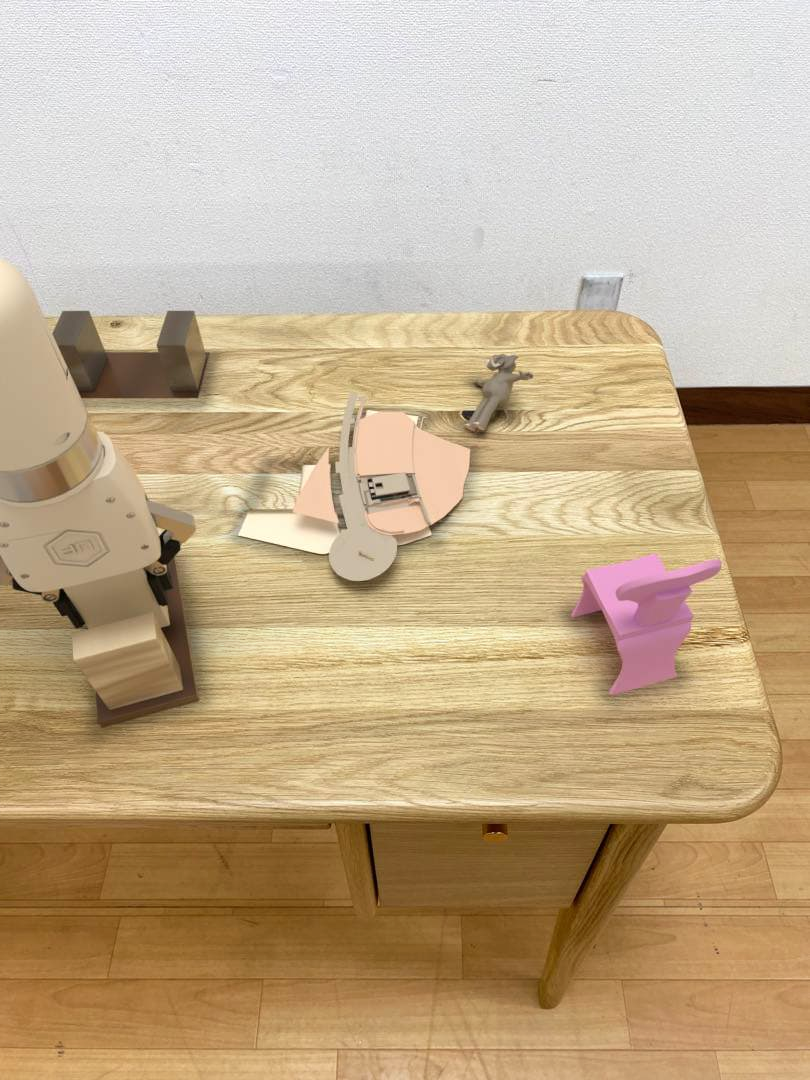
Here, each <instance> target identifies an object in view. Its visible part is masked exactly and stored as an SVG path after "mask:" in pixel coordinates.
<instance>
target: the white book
mask: <svg viewBox="0 0 810 1080" xmlns="http://www.w3.org/2000/svg"><path fill="white" fill-rule="evenodd" d="M63 589H64V591H65V593H66V594H67V596H68V597H69V599H70V600H71V602H72V603H73V605H74V606H75V608H76V609H77V611H78V613H79V614H80V616H81V617H82V619H83V620H84V622H85V625H86V627H87V629H90V628H94V627H98V626H102V625H106V624H110V623H114V622H118V621H121V620H125V619H129V618H133V617H137V616H141V615H145V614H149V613H153V614H154V616H155V618H156V620H157V622H158V624H159V626H160V628H161V627H165V626H169V625H170V621H169V615H168V608H167V606H163V607H162V606H161V605H160V606H159V604H158V602H157V600H156V598H155V596H154V594H153V592H152V590H151V588H150V586H149V584H148V581H147V572H146V570H145V569H144V568H141V569H138V570H134V571H130V572H127V573H123V574H119V575H115V576H111V577H107V578H103V579H99V580H95V581H91V582H87V583H83V584H79V585H74V586H70V587H66V588H63Z"/></svg>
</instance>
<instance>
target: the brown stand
mask: <svg viewBox="0 0 810 1080" xmlns="http://www.w3.org/2000/svg"><path fill="white" fill-rule="evenodd" d="M167 567H168V569H169V571H170V574H171V577H172V582H173V589H170V590H167V597H168V603H169V605H167V608H168V615H169V621H170V625H169V626H165V627H161V628H160V626H159V624H158V622H157V620H156V618H155V616H154V614H153V613H149V614H145V615H141V616H137V617H133V618H129V619H125V620H121V621H118V622H114V623H110V624H106V625H102V626H98V627H94V628H90V629H89V628H87V629H83V630H79V631H75V632H71V642H72V644H71V645H72V660H73V661H74V663H75V664H76V666H77V667H78V669H79V670H80V672H81V673H82V674H83V675H84V677H85V678H86V680H87V681H88V682H89V684H90V685H91V686H92V688H93V689H94V691H95V702H96V703H95V704H96V717H97V723H98V725H99V726H100V727H101V728H102V729H104V728H106V727H110V726H113V725H116V724H120V723H121V724H122V723H124V722H128V721H131V720H134V719H138V718H142V717H144V716H149V715H153V714H156V713H160V712H163V711H168V710H171V709H173V708H177V707H181V706H184V705H188V704H191V703H196V702H199V701H200V694H199V689H198V688H199V687H198V683H197V682H198V681H197V677H196V670H195V665H194V658H193V652H192V647H191V641H190V635H189V627H188V621H187V617H186V616H187V615H186V610H185V604H184V598H183V592H182V587H181V580H180V575H179V568H178V563H177V559H176V556H175V557H174V558H173V559H172V560H171V561H170V562H169V563H168V564H167Z"/></svg>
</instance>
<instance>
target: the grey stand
mask: <svg viewBox="0 0 810 1080" xmlns="http://www.w3.org/2000/svg"><path fill="white" fill-rule="evenodd" d="M60 313H61V314H60V315H59V317H58V320H57V322H56V324H55V326H54V329H53V331H52V334H53V337H54V339H55V341H56V343H57V345H58V348H59V350H60V352H61V354H62V356H63V359H64V361H65V363H66V365H67V368H68V370H69V372H70V374H71V377H72V379H73V381H74V383H75V385H76V388H77V390H78V392H79V394H80V397H81V399H199V398H200V397H199V396H200V393H201V389H202V386H203V385H202V384H203V382H204V378H205V374H206V370H207V365H208V361H209V357H210V351H207V352H206V351H205V346H204V343H203V338H202V335H201V330H200V328H199V327H200V326H199V323H198V320H197V315H196V312H195V310H167V311H166V314H165V317H164V320H163V323H162V326H161V329H160V332H159V336H158V339H157V342H156V348H157V352H156V351H152V352H151V351H149V352H148V351H147V352H146V351H141V352H140V351H139V352H138V351H137V352H136V351H134V352H133V351H124V352H123V351H115V352H113V351H112V352H111V351H110V352H109V351H107V352H106V350H105V347H104V345H103V342H102V339H101V337H100V334H99V332H98V329H97V327H96V325H95V321H94V319H93V317H92V315H91V312H90V310H62V311H61V312H60Z"/></svg>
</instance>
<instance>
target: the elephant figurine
mask: <svg viewBox="0 0 810 1080" xmlns="http://www.w3.org/2000/svg"><path fill="white" fill-rule="evenodd" d="M517 359H519V356H518V355H516V354H512V355H507V354H506V353H500V354H493V355H492V356H490V358H489V361H487V358H486V357H483V361H484V364H485V367H486V368H487V369H489V370H490V371H491V372H494V371H498V372H495V373H493V374H492V376H491V377H490V378H487V379H484V380H482V379H481V380H480V379H477V378H473V383H474V385H477V386H479V387H480V388H481V395H482V399H481V401H480V402H479V403H478V405H477V407H476V409H475V410H474V412H473V413H472V415H471V417H470V418H469V420H468V421H467V423H465V424H464V425H463V426H464V427H465V428H466V429H467V430H468V431H471V432H473V433H476V432H477V429H478V430H479V431H483V432H485V431H486V429H487V427H488V424H489V423H490V419H491V417H492V415H493V414H494V412H495V411H496V409H497V408H498V406H499V407H501V408H502V410H503V412H504V416H505V418H506V419H508V418H509V417H508V415H509V413H508V403H509V401H510V397H511V394H512V390H513V386H514V383H516V382H519V381H528V380H530V379H531V380H532V379H534V374H533V373H532V372H530V371H528V372H526V371H525V372H523V371H521V370H518V374H517V373H513V372H514V371H515V369H516V368H517V363H516V360H517Z"/></svg>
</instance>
